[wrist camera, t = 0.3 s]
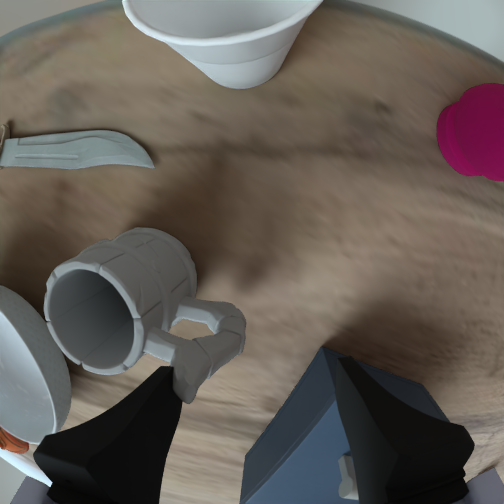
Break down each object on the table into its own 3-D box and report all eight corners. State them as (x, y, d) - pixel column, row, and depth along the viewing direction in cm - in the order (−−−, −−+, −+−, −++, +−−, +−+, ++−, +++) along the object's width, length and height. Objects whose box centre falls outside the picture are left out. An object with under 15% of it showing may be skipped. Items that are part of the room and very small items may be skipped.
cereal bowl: (63, 431, 27) (36, 464, 21) (-23, 337, 26) (-57, 357, 19) (118, 356, 25) (79, 398, 18) (7, 237, 24) (-43, 248, 17)
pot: (40, 451, 29) (10, 469, 22) (9, 411, 30) (-22, 425, 24) (45, 428, 27) (9, 448, 21) (11, 383, 29) (-25, 397, 22)
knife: (163, 118, 20) (148, 183, 21) (168, 125, 22) (155, 187, 22) (-36, 128, 21) (-47, 170, 21) (-28, 131, 22) (-38, 172, 22)
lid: (343, 525, 20) (348, 558, 16) (235, 506, 20) (230, 545, 15) (451, 423, 17) (475, 458, 13) (335, 390, 17) (350, 438, 13)
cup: (230, 140, 21) (194, 89, 10) (156, 56, 20) (91, -15, 9) (334, 67, 20) (375, -16, 9) (252, -8, 19) (242, -99, 8)
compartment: (339, 479, 26) (348, 521, 20) (244, 456, 26) (239, 502, 20) (423, 384, 24) (451, 423, 17) (321, 345, 23) (335, 389, 17)
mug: (122, 212, 22) (13, 228, 11) (268, 263, 23) (265, 332, 11) (104, 300, 24) (10, 363, 12) (235, 351, 24) (210, 461, 12)
